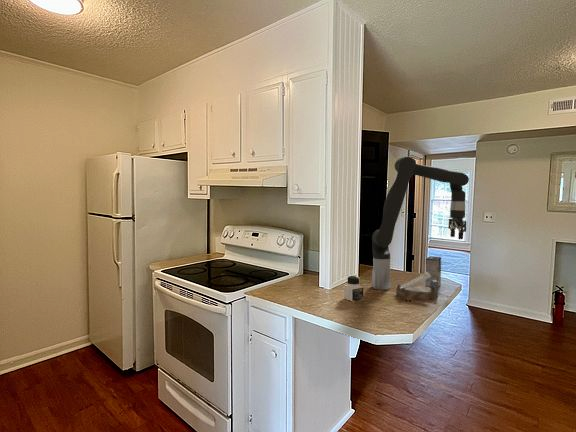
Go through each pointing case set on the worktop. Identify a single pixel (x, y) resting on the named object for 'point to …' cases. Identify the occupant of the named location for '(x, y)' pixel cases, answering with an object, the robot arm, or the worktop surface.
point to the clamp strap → (415, 280)
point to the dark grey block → (434, 286)
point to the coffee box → (433, 269)
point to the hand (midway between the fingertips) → (456, 238)
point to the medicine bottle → (353, 289)
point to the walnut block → (416, 293)
